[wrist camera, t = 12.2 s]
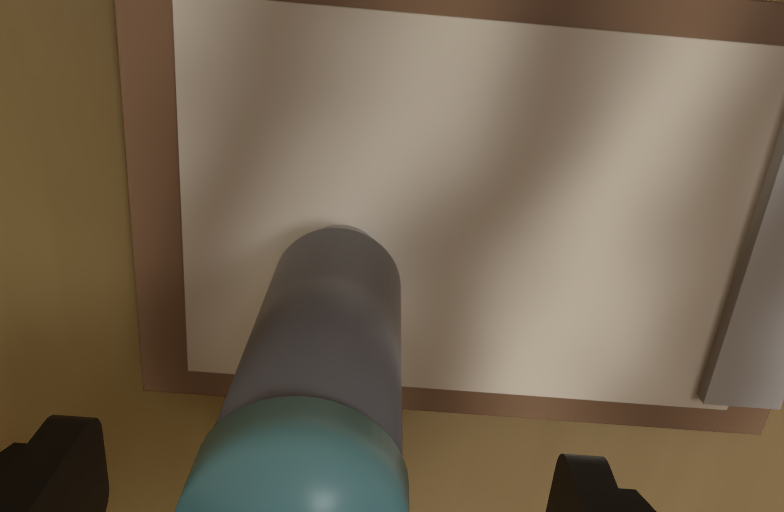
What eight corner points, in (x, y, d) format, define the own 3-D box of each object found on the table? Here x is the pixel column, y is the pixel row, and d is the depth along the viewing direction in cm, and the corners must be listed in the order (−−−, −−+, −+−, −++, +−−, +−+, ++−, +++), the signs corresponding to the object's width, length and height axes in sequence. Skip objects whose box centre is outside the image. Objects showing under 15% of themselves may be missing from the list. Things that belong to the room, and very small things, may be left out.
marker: (409, 210, 19) (421, 469, 9) (398, 322, 21) (399, 647, 11) (280, 199, 19) (160, 451, 9) (277, 313, 20) (172, 633, 11)
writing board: (894, 13, 18) (936, 17, 17) (749, 419, 23) (771, 449, 22) (122, -58, 17) (98, -59, 16) (151, 376, 23) (135, 403, 21)
